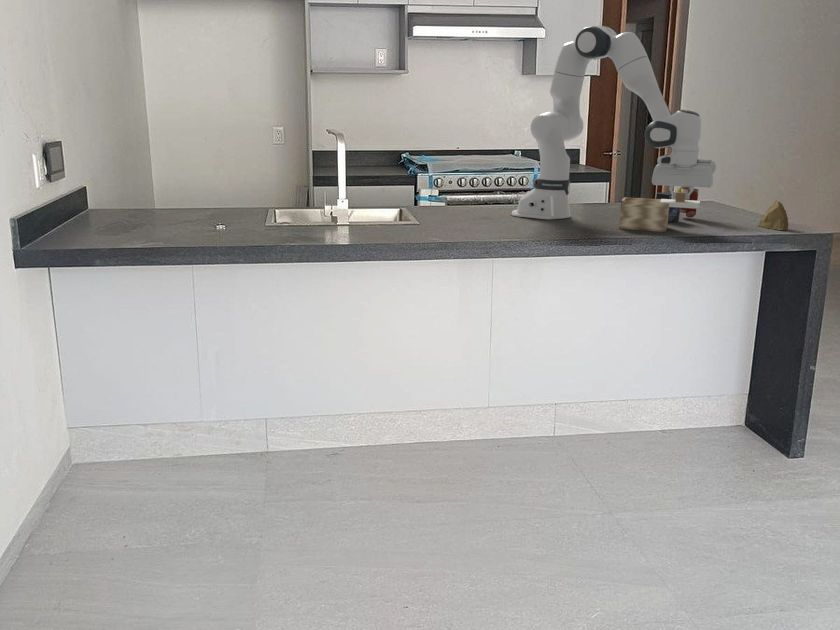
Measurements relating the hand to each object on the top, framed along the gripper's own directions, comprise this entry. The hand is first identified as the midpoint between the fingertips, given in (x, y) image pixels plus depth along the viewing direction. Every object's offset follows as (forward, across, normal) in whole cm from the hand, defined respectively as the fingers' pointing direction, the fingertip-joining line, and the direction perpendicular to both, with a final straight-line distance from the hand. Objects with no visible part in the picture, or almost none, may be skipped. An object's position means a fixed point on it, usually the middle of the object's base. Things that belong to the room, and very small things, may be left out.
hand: (680, 199), depth 277 cm
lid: (+2, 0, 0) cm, 2 cm away
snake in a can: (+11, -2, -29) cm, 31 cm away
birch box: (+11, +12, 0) cm, 16 cm away
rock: (+11, -32, -19) cm, 39 cm away
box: (+11, +5, -20) cm, 23 cm away
